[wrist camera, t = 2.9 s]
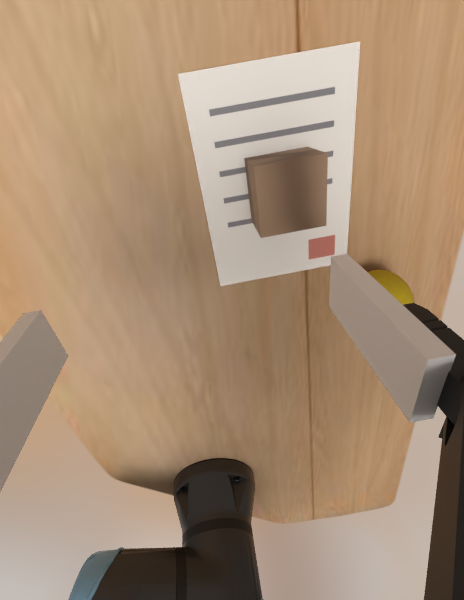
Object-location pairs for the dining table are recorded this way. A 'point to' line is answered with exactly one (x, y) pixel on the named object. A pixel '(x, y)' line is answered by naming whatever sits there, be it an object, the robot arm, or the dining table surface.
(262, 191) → the walnut block
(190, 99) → the letter
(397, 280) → the lemon
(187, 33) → the dining table surface
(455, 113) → the dining table surface
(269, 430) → the dining table surface
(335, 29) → the dining table surface
